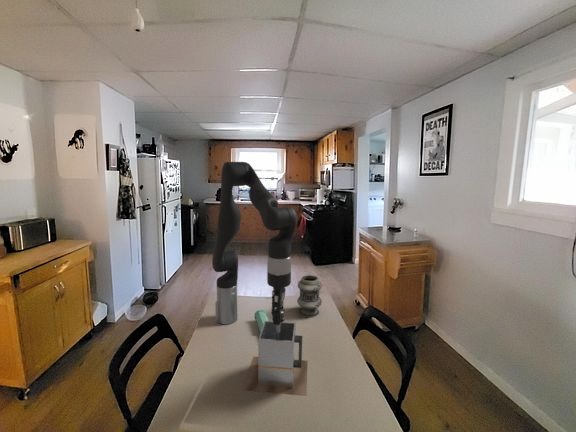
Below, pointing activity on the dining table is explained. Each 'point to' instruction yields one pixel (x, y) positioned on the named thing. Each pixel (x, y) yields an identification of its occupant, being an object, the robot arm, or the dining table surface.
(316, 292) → the apothecary jar
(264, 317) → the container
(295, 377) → the walnut board
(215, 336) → the dining table surface
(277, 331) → the plunger
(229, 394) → the dining table surface
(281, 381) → the square mug
